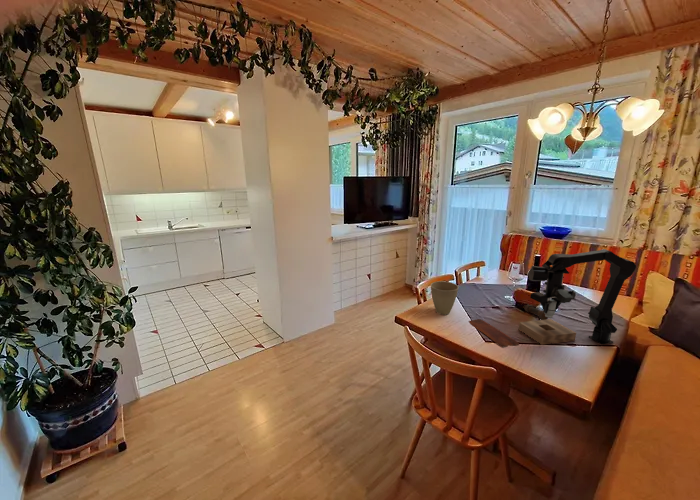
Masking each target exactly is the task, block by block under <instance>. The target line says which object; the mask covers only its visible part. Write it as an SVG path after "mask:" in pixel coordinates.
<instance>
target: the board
mask: <svg viewBox="0 0 700 500" xmlns="http://www.w3.org/2000/svg"><path fill="white" fill-rule="evenodd" d="M518 330H519V331H520V330H521V331H522V333H523V332H524V333H525V334H524V333H523V334H524V335H526V334H527V335H528V337H529V336H530V337H531V338H530V337H529V338H530V339H532V338H533V339H534V341H535V340H536V341H537V343H538V342H539V343H540V344H539V343H538V344H539V345H543V346H544V345H550V344H551V343H552V344H558V343H566V342H575V341H576V338H577V337H576V336H577V332H576V331H574V330H572V329H570V328H568V327H566V326H564V325H562V324H561V323H559V322H558V321H555V320H554V319H553V318H548V319H546V320H540V319H539V320H530V321H520V322H519V324H518ZM521 331H520V332H521ZM527 335H526V336H527ZM533 339H532V340H533ZM536 341H535V342H536Z"/></svg>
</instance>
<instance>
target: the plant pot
mask: <svg viewBox="0 0 700 500" xmlns="http://www.w3.org/2000/svg"><path fill="white" fill-rule="evenodd" d="M459 288H460V287H459V286H458V285H457V283H453V282H452V281H451V282H450V281H442V280H441V281H440V280H439V281H434V282H432V283H430V291H431V298H432V302H433V306H434V308H435V311H436V313H437V314H439V315H443V316H444V315H449V314H450V313H451V311H452V309H453V306H454V305H455V302H456V299H457V296H458V291H459Z"/></svg>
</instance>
